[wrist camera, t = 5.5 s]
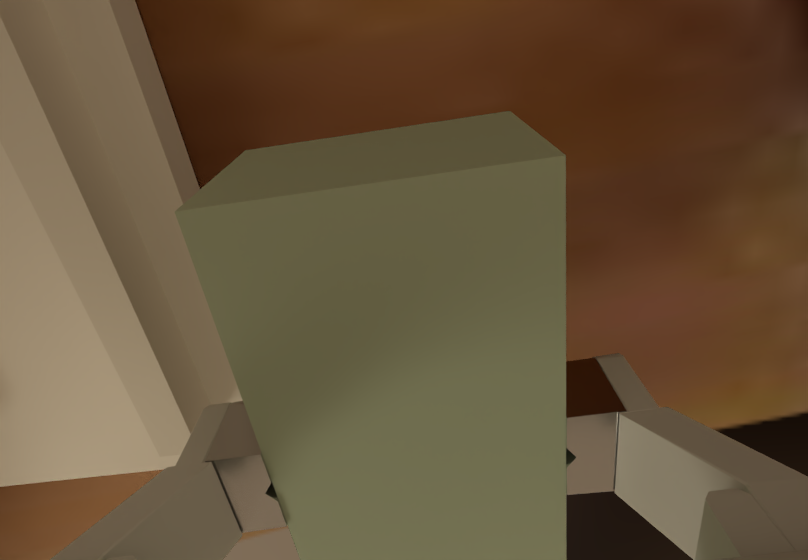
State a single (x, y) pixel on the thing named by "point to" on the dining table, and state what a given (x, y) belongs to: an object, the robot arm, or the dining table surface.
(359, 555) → the green block
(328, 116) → the dining table surface
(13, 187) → the beige shallow tray
